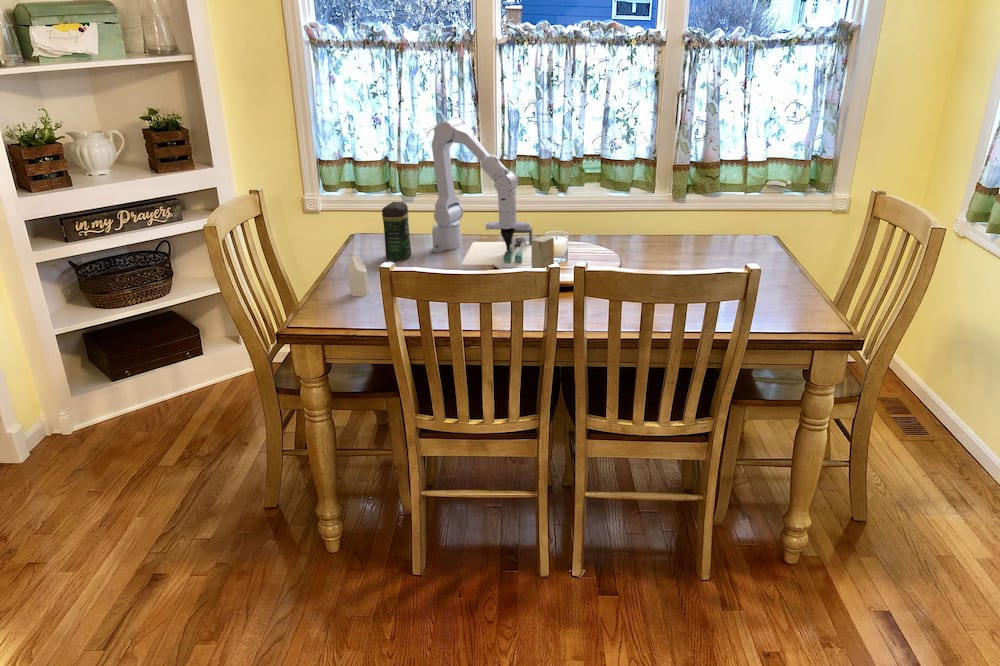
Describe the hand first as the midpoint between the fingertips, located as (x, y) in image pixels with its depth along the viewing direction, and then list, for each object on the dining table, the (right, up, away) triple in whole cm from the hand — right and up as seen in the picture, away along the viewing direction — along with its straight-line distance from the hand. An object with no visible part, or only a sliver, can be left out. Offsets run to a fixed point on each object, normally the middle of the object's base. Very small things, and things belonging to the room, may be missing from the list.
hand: (508, 250), depth 261 cm
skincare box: (+10, -10, -19) cm, 24 cm away
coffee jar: (-37, -2, +5) cm, 37 cm away
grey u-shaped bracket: (+4, +4, +10) cm, 12 cm away
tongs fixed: (+4, -1, 0) cm, 4 cm away
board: (-3, -2, +2) cm, 4 cm away
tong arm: (+1, -1, -1) cm, 2 cm away
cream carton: (-45, -16, -26) cm, 54 cm away
